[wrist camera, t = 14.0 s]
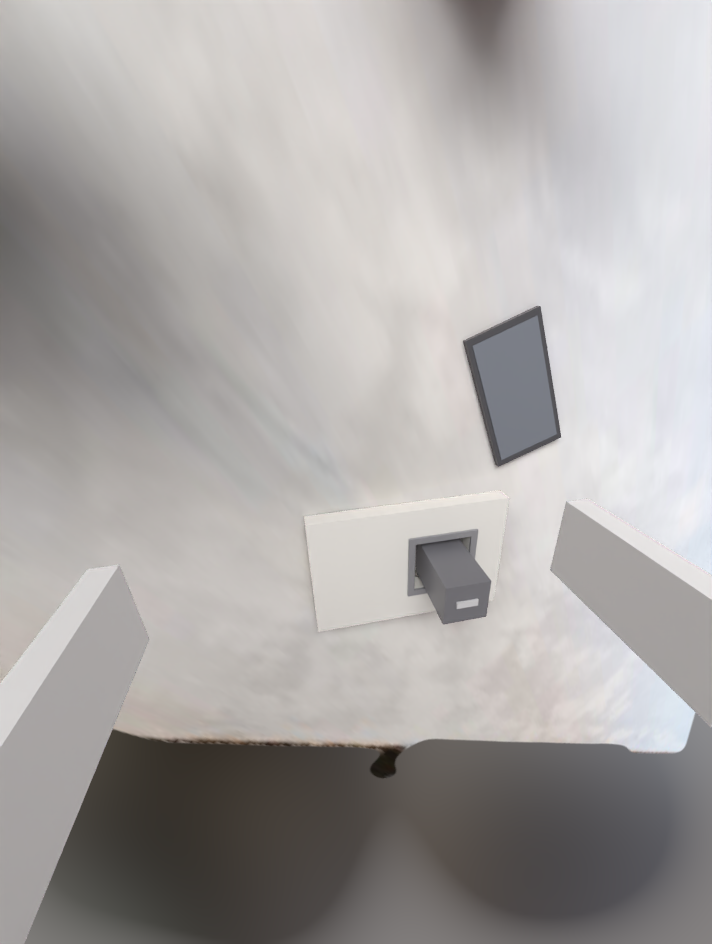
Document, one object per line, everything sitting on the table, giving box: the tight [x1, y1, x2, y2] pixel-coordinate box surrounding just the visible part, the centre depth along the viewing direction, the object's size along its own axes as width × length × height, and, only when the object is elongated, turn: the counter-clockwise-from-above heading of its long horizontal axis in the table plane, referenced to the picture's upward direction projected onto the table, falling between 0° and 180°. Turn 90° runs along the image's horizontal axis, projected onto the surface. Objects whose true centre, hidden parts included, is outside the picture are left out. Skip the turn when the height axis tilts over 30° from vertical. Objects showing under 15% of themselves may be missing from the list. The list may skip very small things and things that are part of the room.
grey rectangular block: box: [416, 538, 491, 624], centre depth 42 cm, size 5×5×9 cm
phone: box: [463, 306, 561, 467], centre depth 39 cm, size 8×15×1 cm, turn 23°
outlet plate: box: [304, 490, 510, 632], centre depth 44 cm, size 24×16×2 cm, turn 92°
